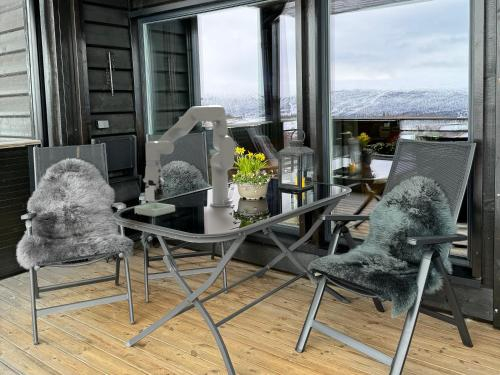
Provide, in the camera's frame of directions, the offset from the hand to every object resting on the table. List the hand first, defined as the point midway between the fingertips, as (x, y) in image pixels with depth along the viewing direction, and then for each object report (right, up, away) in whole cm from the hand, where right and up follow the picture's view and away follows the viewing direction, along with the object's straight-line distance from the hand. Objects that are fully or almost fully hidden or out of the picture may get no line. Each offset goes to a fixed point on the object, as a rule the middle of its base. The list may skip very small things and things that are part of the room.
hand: (154, 194), depth 293 cm
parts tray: (0, -10, +2) cm, 11 cm away
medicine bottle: (0, -4, +1) cm, 4 cm away
